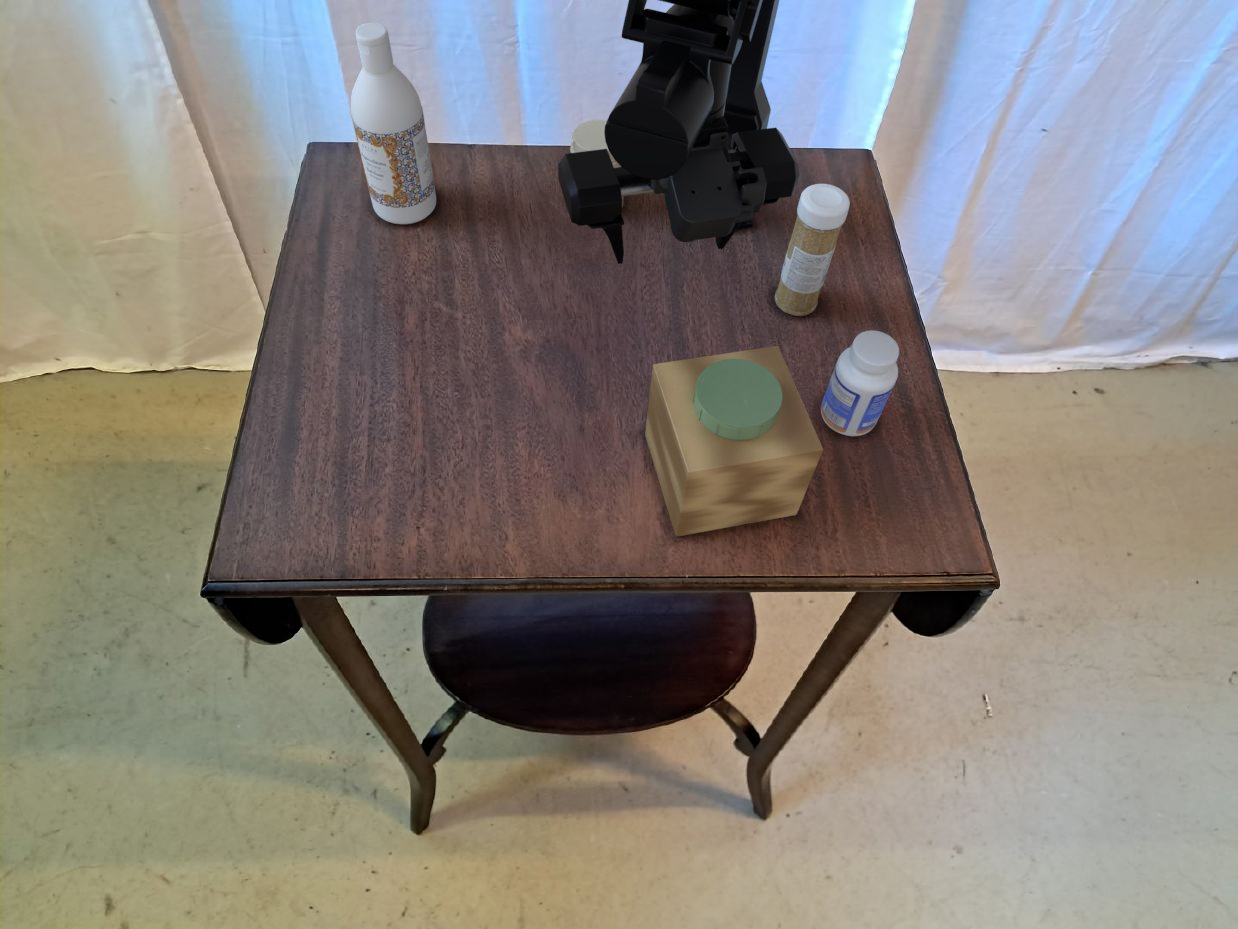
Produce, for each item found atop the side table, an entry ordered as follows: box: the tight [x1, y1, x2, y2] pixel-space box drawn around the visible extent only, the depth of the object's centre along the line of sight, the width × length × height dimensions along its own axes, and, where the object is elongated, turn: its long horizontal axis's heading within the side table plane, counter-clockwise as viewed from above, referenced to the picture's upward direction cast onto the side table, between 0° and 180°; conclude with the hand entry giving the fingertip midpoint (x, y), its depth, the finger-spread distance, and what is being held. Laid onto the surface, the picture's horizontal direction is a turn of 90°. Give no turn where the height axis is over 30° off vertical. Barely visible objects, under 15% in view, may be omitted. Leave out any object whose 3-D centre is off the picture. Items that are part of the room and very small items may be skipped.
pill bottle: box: [820, 329, 900, 437], centre depth 79 cm, size 5×5×10 cm
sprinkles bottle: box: [774, 183, 851, 317], centre depth 86 cm, size 5×5×13 cm
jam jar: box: [569, 119, 625, 208], centre depth 95 cm, size 6×6×9 cm
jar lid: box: [692, 359, 782, 440], centre depth 70 cm, size 7×7×2 cm
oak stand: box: [644, 345, 824, 537], centre depth 75 cm, size 11×11×10 cm
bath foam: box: [350, 22, 437, 225], centre depth 89 cm, size 7×7×20 cm
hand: (669, 253), depth 78 cm, fingers open, 9 cm apart
